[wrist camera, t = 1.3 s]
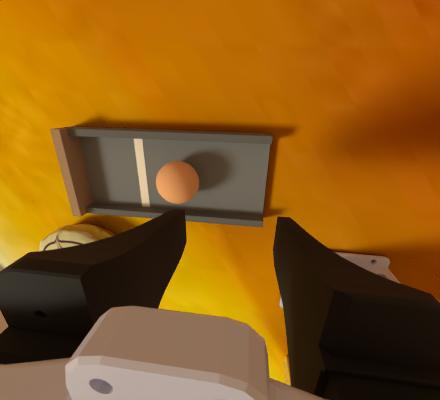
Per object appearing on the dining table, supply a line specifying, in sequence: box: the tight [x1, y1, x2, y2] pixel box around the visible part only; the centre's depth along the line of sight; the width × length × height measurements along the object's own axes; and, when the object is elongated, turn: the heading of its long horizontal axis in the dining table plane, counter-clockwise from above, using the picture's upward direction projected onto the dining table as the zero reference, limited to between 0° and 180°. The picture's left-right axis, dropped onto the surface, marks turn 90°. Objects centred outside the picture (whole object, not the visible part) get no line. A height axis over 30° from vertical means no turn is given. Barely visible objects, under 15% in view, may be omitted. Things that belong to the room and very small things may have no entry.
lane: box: [50, 126, 273, 227], centre depth 20 cm, size 18×8×3 cm, turn 89°
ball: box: [156, 161, 199, 204], centre depth 19 cm, size 4×4×4 cm
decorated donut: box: [39, 224, 115, 251], centre depth 25 cm, size 10×11×4 cm
